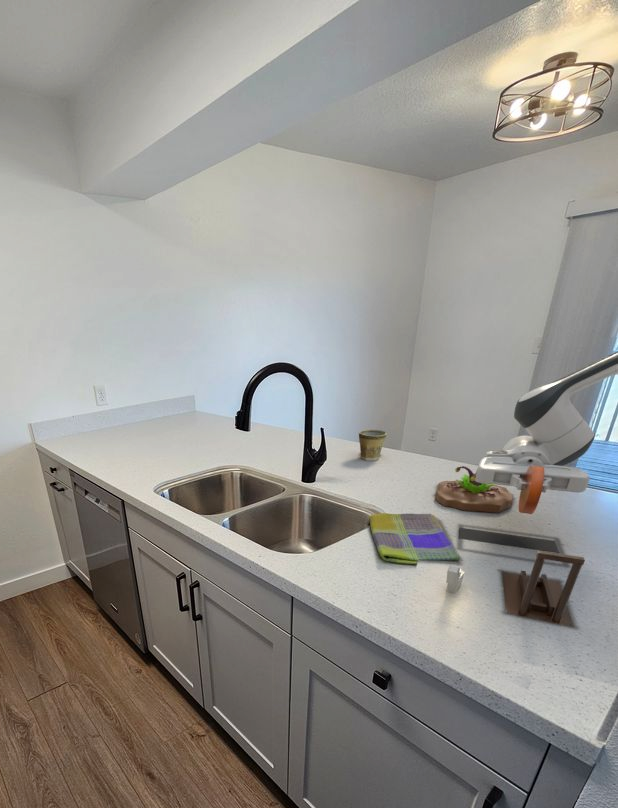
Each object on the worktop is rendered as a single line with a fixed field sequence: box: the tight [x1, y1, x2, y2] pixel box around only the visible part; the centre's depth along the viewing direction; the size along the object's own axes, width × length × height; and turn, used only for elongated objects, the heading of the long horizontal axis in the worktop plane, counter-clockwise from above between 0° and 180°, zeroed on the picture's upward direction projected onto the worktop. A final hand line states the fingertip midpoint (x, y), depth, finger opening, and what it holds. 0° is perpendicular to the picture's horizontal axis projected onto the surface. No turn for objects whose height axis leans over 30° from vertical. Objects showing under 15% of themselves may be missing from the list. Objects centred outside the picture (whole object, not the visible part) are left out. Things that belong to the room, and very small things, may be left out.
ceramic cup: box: [358, 429, 388, 462], centre depth 168 cm, size 13×10×10 cm
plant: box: [434, 465, 514, 514], centre depth 126 cm, size 20×20×11 cm
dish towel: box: [368, 512, 461, 565], centre depth 107 cm, size 18×24×3 cm
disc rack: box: [500, 550, 586, 628], centre depth 80 cm, size 10×16×14 cm, turn 152°
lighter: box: [445, 565, 465, 595], centre depth 85 cm, size 7×2×8 cm, turn 139°
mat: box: [458, 527, 561, 554], centre depth 102 cm, size 20×14×1 cm
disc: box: [518, 465, 544, 515], centre depth 91 cm, size 2×10×10 cm, turn 152°
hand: (532, 487), depth 90 cm, fingers closed on disc, 2 cm apart
